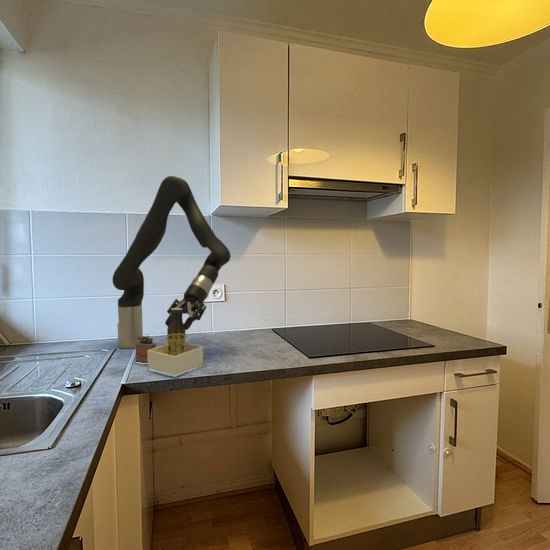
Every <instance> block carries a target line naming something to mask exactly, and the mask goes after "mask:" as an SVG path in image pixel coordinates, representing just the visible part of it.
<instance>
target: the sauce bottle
mask: <svg viewBox="0 0 550 550" xmlns="http://www.w3.org/2000/svg"><path fill="white" fill-rule="evenodd" d="M182 313H183V309H182V308H171V322H170V324H169V326H167V329H166V330H167V334H166V344H167V355H171V356H177V355H180V354H182V353H185V346H186V343H187V342H186V341H187V340H186V338H187V337H186V330H185V329H184V328H183V325H184V322H183V314H182Z"/></svg>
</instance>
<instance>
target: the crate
mask: <svg viewBox="0 0 550 550" xmlns="http://www.w3.org/2000/svg"><path fill="white" fill-rule="evenodd" d="M147 358H148V365H147V369H148V368H151V369H154V370H158V371H162V372H167V373H171V374H174V375H176V374H178V373H181V372H184V371H187V370H189V369H192V368H195V367H198V366H200V365H203V366H204V346H202V345H197V344H193V343H189V342H188V343H187V342H186V346H185V353H182V354H180V355H177V356H171V355H167V343H165V344H162V345H160V346H156V348H153V349H150V350H147Z"/></svg>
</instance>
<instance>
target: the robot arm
mask: <svg viewBox="0 0 550 550" xmlns="http://www.w3.org/2000/svg"><path fill="white" fill-rule="evenodd" d="M175 204H177V205H178V206H179V207H180V208H181V209H182V211H183V212H184V214H185V216H186V219H187V222H188V224H189V227H190V230H191V232H192V233H193V235H194V237H195V239H196V240H197V241H198V243H199V245H200V246H201V247H202V248H205V249H206V248H207V249H209V251H210V253H209V254H208V255H207V257H206V259H205V261H204V263H203V265H202V266H201V268H200V270H199V271H198V273H197V275H196V276H195V277H194V278H193V280H192V281H191V283H190V284H189V286H188V287H187V289H186V290H185V291H184V293H183V299H182V300H179V299H177V298H175V299H174V301H173V302H172V304H171V305H170V306H169V308H168V309H167V311H166V312H167V314H168V317H167V319H166V320H165V323H164V324H165V325H166V326H167V327H168V326H169V324H170V322H171V308H182V309H183V313H182V315H183V314H184V315H185V314H187V315H188V317H187V318H186V319H185V322H183V324H184V325H183V328H184V329H185V331H186V330H187V331H188V330H189V329H190V327H191V326H192V325H193V322H195V321H200V320H201V318H202V317H203V315H204V313H205V311H206V309H207V305H206V304H205V303H204V302H205V301H206V299H207V297H208V296H209V294H210V292H211V290H212V288H213V286H214V284H215V282H216V281H217V279H218V277H219V271H220V270H221V269H222V267H223V266H224V265H226V264H228V263H229V262H230V260H231V253H230V250H229V248H228V247H227V246H226V245H225V243H223V242H222V240H220V238H218V237H217V236H216V234H215V233H214V231H213V229H212V227H211V226H210V224H209V222H208V221H207V220H206V218H205V217H204V214H203V212H202V211H201V209H200V207H199V206H198V204H197V202H196V199H195V196H194V194H193V192H192V190H191V187H190V185H189V184H188V182H187V181H186V180H185V179H183V178H181V177H177V176H174V175H170V176H169V175H168V176H166V177H165V178H164V179H163V180H162V181H161V183H160V185H159V188H158V191H157V192H156V195H155V198H154V200H153V202H152V204H151V206H150V209H149V211H148V212H147V214H146V216H145V218H144V220H143V222H142V224H141V226H140V228H139V229H138V231H137V233H136V235H135V237H134V239H133V241H132V243H131V245H130V246H129V248H128V251H126V254H125V256H124V257H123V258H122V260H121V262H120V263H119V265H118V266H117V267H116V269H115V271H114V272H113V275H112V284H113V287H114V288H115V289H117V290H119V291H123V293H122V295H121V296H120V297H119V298H118V299H117V315H118V323H117V325H116V326H117V344H118V346H119V348H121V349H136V345H135V342H139V341H140V340H137V336H144V334H143V333H144V332H143V331H144V328H143V305H142V303H143V300H144V292H145V290H144V289H145V278H144V274H143V272H142V270H141V269H140V267H141V266H142V264H143V263H144V262H145V260H147V259H148V258H149V256H151V255H152V254H153V253H154V252H155V251H156V250H157V248H158V247H159V245H160V243H161V242H162V240H163V238H164V236H165V234H166V230H167V224H168V218H169V215H170V213H171V212H172V211H171V210H173V208H174V206H175Z"/></svg>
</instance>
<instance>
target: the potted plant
mask: <svg viewBox="0 0 550 550" xmlns="http://www.w3.org/2000/svg"><path fill="white" fill-rule="evenodd" d="M153 338H154V337H153V336H151V337H150V335H145V336H144V335H143V336H137V340H140V341H139V342H135V345H136V348H135V363H136V362H141V363H148V358H147V350H150V349H153V348H156V347H157V342H153Z"/></svg>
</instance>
